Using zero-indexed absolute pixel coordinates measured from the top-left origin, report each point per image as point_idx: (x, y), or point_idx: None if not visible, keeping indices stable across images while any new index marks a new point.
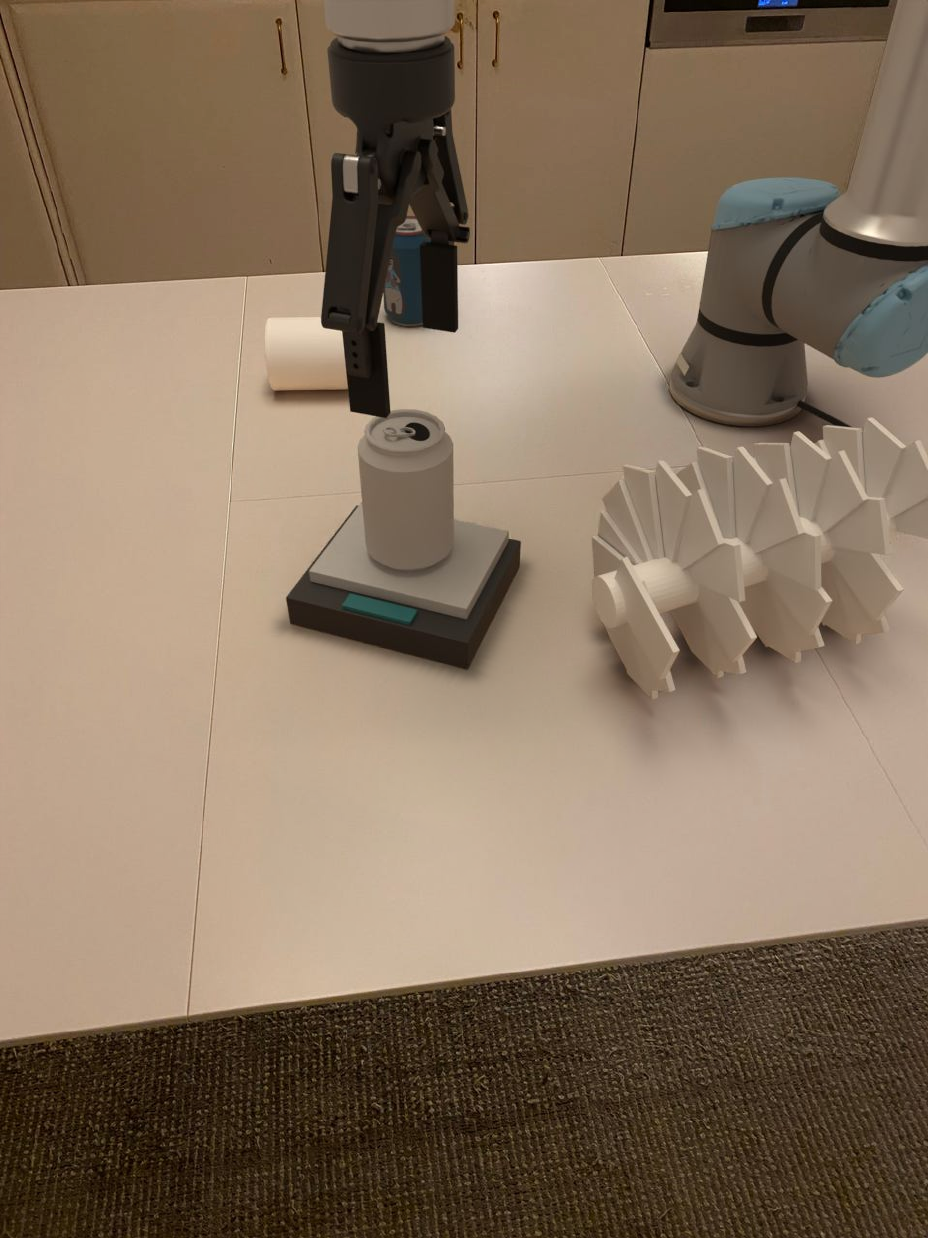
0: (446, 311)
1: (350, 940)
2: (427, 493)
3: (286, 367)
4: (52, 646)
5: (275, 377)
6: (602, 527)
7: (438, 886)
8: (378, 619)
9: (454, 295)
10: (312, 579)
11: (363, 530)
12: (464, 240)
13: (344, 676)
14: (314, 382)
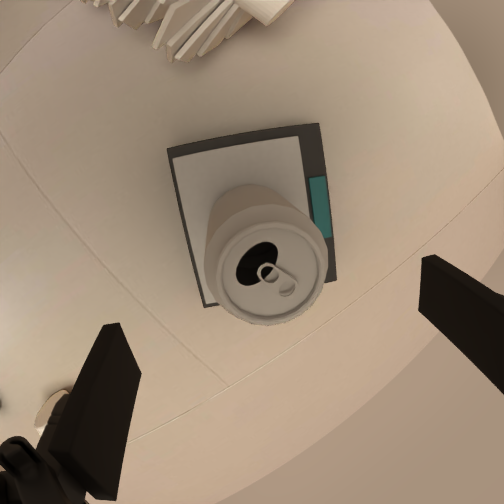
0: (116, 360)
1: (478, 110)
2: (293, 206)
3: None
4: (391, 362)
5: None
6: (176, 46)
7: (446, 80)
8: (329, 202)
9: (100, 369)
10: None
11: None
12: (21, 445)
13: (355, 203)
14: None
